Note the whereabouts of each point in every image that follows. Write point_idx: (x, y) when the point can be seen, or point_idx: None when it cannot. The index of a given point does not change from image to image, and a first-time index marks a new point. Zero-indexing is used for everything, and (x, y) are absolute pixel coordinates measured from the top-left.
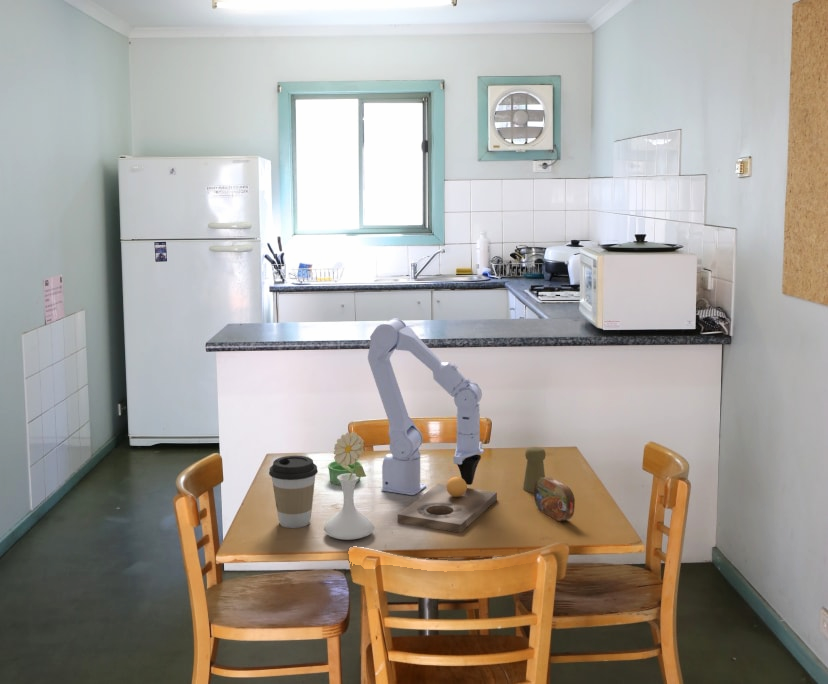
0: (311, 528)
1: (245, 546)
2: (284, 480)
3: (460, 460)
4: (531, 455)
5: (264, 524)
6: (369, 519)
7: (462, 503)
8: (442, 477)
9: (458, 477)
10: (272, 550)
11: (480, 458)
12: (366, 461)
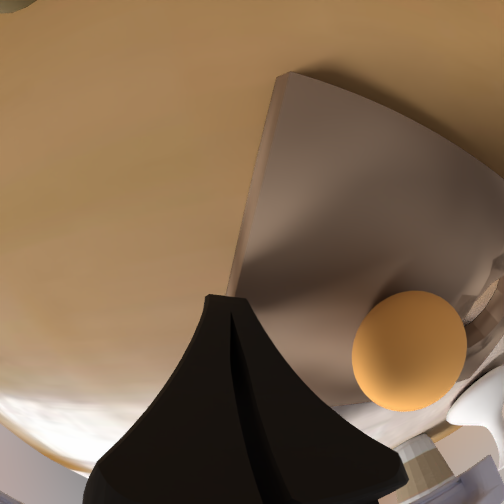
0: (434, 425)
1: (455, 428)
2: None
3: (499, 477)
4: None
5: None
6: (489, 390)
7: (465, 264)
8: (59, 379)
9: (443, 389)
10: None
11: (120, 480)
12: (87, 464)
